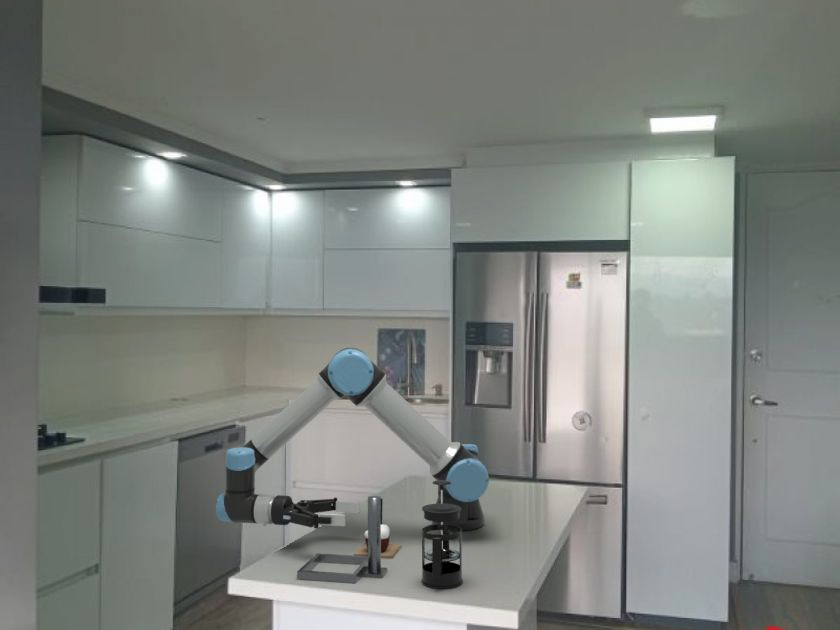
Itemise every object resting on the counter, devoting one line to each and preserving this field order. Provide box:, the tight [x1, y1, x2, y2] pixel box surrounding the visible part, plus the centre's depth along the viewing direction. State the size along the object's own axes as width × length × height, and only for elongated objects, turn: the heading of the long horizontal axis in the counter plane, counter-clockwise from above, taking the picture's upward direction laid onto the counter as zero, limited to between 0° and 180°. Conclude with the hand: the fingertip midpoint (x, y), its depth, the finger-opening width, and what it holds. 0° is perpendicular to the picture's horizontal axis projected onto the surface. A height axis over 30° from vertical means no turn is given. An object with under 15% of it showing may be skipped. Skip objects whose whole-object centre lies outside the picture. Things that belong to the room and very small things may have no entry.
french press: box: [420, 480, 464, 590], centre depth 179 cm, size 12×9×23 cm
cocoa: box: [364, 497, 391, 552], centre depth 202 cm, size 10×6×12 cm, turn 155°
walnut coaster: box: [353, 542, 403, 559], centre depth 203 cm, size 10×10×1 cm
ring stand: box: [296, 495, 388, 584], centre depth 187 cm, size 19×14×18 cm
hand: (352, 513), depth 204 cm, fingers open, 13 cm apart
